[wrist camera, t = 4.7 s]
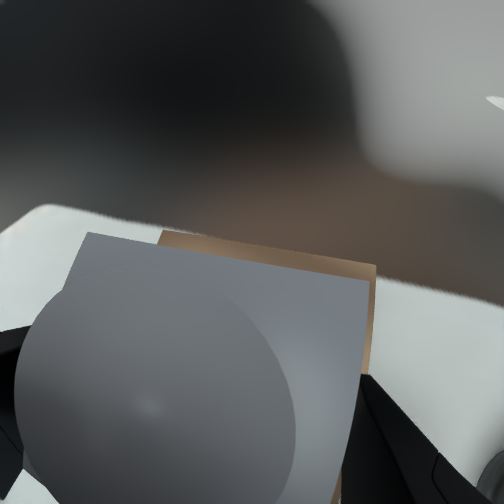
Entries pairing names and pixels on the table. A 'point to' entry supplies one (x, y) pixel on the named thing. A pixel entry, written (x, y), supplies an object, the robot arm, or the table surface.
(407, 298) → the table surface
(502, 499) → the beverage cup
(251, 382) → the domed grey block
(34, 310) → the table surface
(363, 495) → the robot arm
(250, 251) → the wooden board
